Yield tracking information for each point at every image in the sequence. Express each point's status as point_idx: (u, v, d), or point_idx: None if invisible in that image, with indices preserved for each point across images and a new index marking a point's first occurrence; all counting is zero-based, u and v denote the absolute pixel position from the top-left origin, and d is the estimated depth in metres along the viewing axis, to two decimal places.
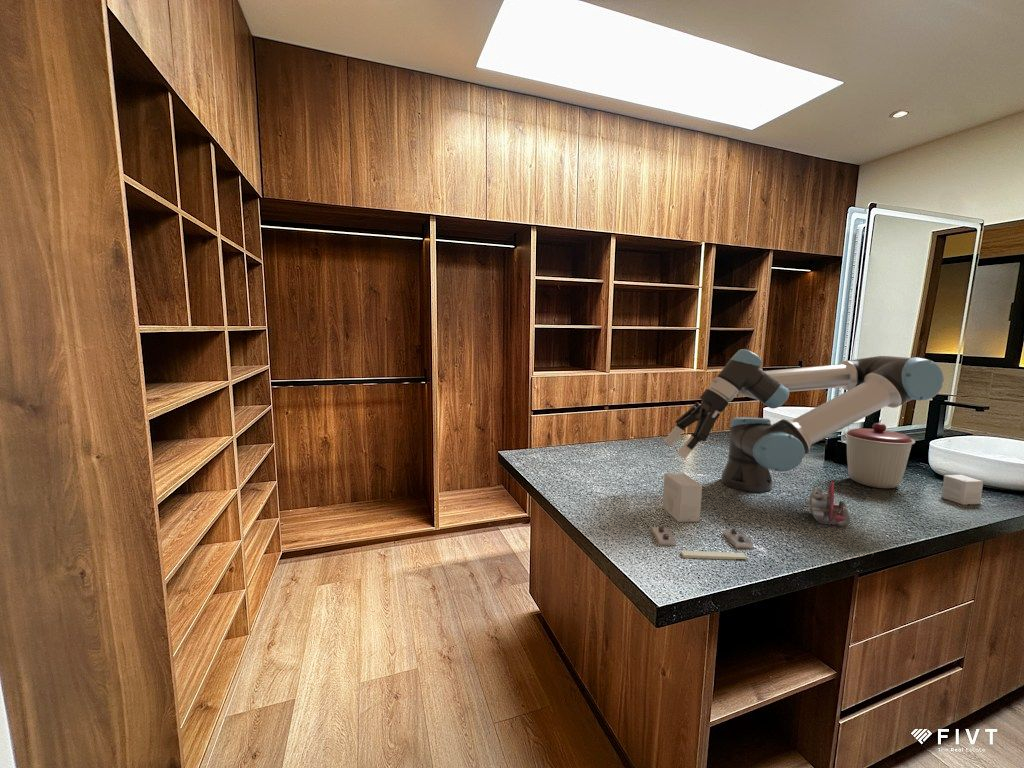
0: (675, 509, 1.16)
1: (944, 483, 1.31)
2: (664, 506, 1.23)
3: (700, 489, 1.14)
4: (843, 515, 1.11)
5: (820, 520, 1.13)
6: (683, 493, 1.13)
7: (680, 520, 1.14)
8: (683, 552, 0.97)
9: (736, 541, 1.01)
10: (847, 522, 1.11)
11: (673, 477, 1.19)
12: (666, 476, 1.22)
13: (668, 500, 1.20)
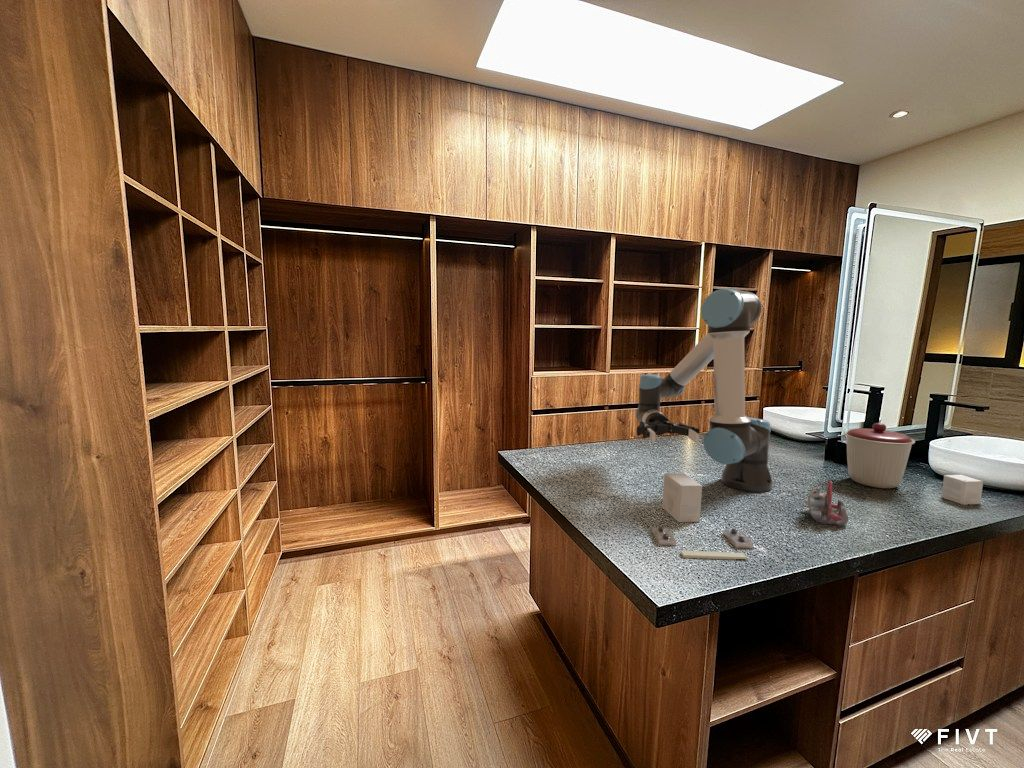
0: (675, 510, 1.16)
1: (944, 483, 1.31)
2: (664, 507, 1.23)
3: (700, 489, 1.13)
4: (841, 514, 1.12)
5: (818, 519, 1.13)
6: (683, 493, 1.13)
7: (680, 520, 1.14)
8: (683, 552, 0.97)
9: (736, 541, 1.01)
10: (844, 521, 1.12)
11: (673, 477, 1.19)
12: (666, 476, 1.22)
13: (668, 501, 1.20)
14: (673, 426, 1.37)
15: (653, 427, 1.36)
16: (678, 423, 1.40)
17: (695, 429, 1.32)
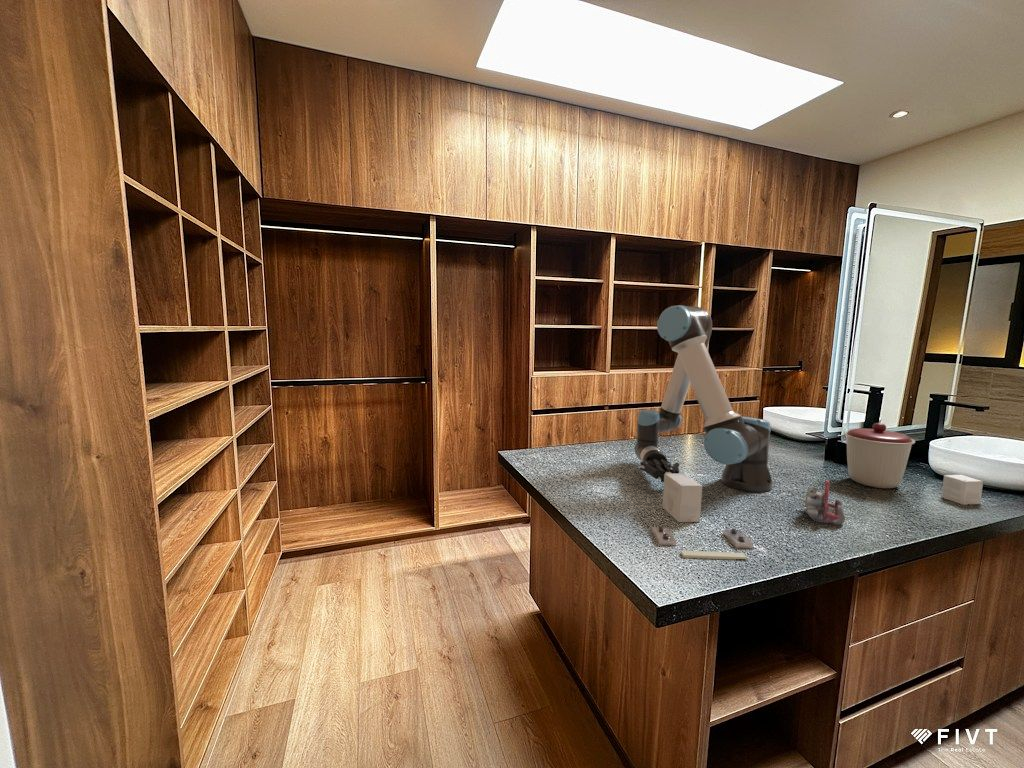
0: (675, 510, 1.16)
1: (944, 483, 1.31)
2: (664, 507, 1.22)
3: (701, 489, 1.13)
4: (838, 514, 1.12)
5: (815, 518, 1.14)
6: (683, 493, 1.13)
7: (680, 520, 1.14)
8: (683, 552, 0.97)
9: (736, 541, 1.01)
10: (841, 520, 1.12)
11: (673, 477, 1.19)
12: (666, 476, 1.21)
13: (668, 501, 1.20)
14: (663, 466, 1.37)
15: None
16: None
17: (674, 471, 1.32)
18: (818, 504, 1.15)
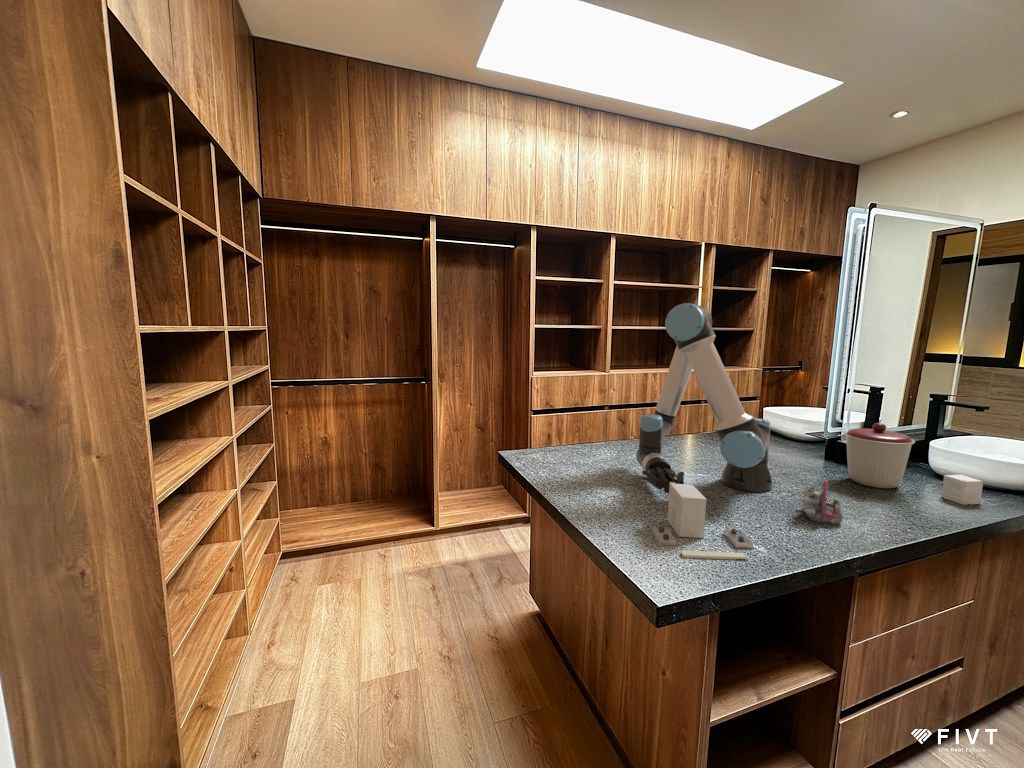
0: (677, 523, 1.07)
1: (944, 483, 1.31)
2: (668, 519, 1.14)
3: (704, 503, 1.04)
4: (835, 513, 1.13)
5: (812, 517, 1.15)
6: (685, 506, 1.05)
7: (681, 535, 1.05)
8: (683, 552, 0.97)
9: (736, 541, 1.01)
10: (839, 520, 1.12)
11: (677, 488, 1.11)
12: (671, 486, 1.13)
13: (671, 513, 1.12)
14: (667, 475, 1.28)
15: None
16: (679, 472, 1.30)
17: (679, 481, 1.23)
18: (816, 503, 1.15)
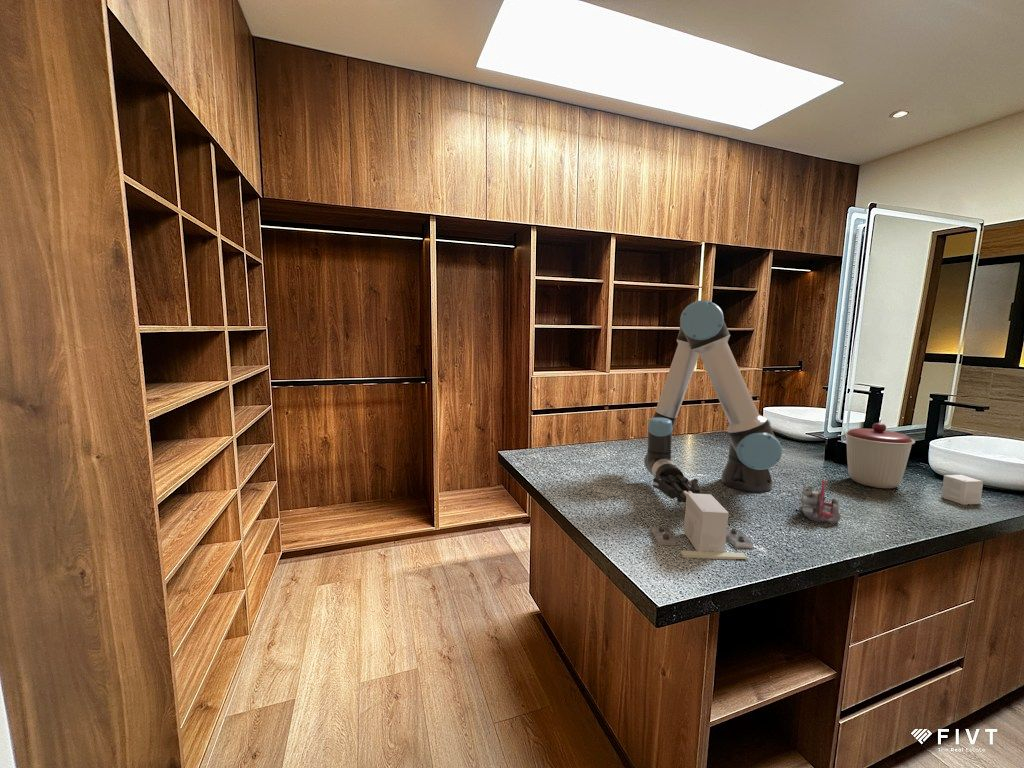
0: (695, 538, 0.99)
1: (944, 483, 1.31)
2: (685, 531, 1.06)
3: (726, 517, 0.96)
4: (833, 512, 1.13)
5: (810, 516, 1.15)
6: (705, 521, 0.97)
7: None
8: (683, 552, 0.97)
9: (736, 541, 1.01)
10: (836, 519, 1.13)
11: (696, 499, 1.02)
12: (688, 497, 1.05)
13: (689, 525, 1.04)
14: (681, 483, 1.20)
15: None
16: None
17: (695, 490, 1.15)
18: (814, 503, 1.16)
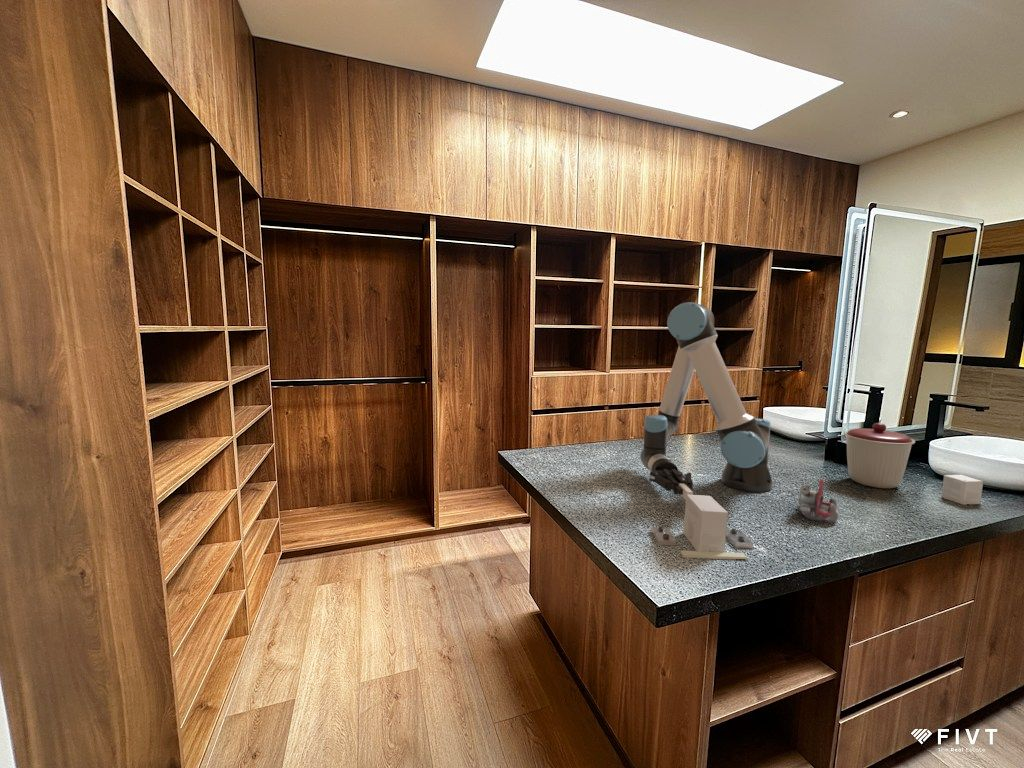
0: (695, 538, 1.00)
1: (944, 483, 1.31)
2: (685, 533, 1.07)
3: (725, 517, 0.97)
4: (830, 512, 1.14)
5: (807, 515, 1.16)
6: (704, 520, 0.97)
7: None
8: (683, 552, 0.97)
9: (736, 541, 1.01)
10: (834, 518, 1.13)
11: (695, 500, 1.03)
12: (687, 498, 1.06)
13: (689, 526, 1.04)
14: (675, 476, 1.27)
15: None
16: None
17: (688, 482, 1.22)
18: (811, 502, 1.16)
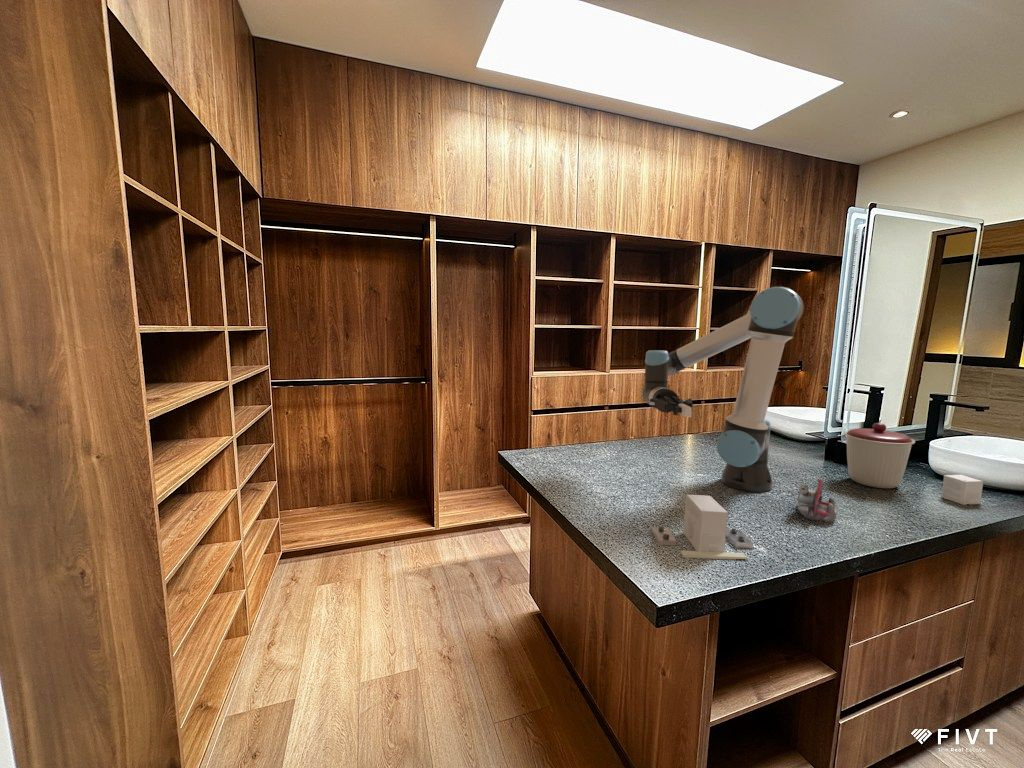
0: (695, 538, 1.00)
1: (944, 483, 1.31)
2: (685, 533, 1.07)
3: (725, 517, 0.97)
4: (829, 511, 1.14)
5: (806, 515, 1.16)
6: (704, 520, 0.97)
7: None
8: (683, 552, 0.97)
9: (736, 541, 1.01)
10: (832, 518, 1.14)
11: (695, 500, 1.03)
12: (687, 498, 1.06)
13: (688, 526, 1.04)
14: (675, 401, 1.27)
15: None
16: (687, 399, 1.29)
17: (688, 404, 1.21)
18: (810, 501, 1.17)
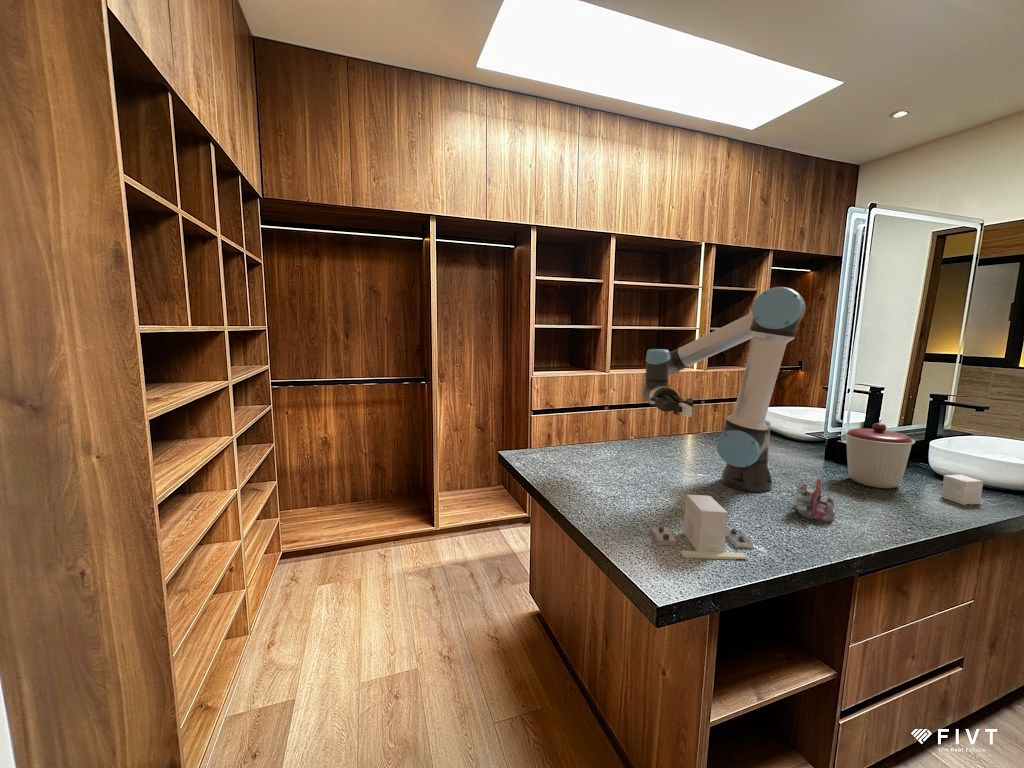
0: (695, 538, 1.00)
1: (944, 483, 1.31)
2: (685, 533, 1.07)
3: (725, 517, 0.97)
4: (827, 511, 1.14)
5: (804, 514, 1.17)
6: (704, 520, 0.97)
7: None
8: (683, 552, 0.97)
9: (736, 541, 1.01)
10: (830, 517, 1.14)
11: (695, 500, 1.03)
12: (687, 498, 1.06)
13: (688, 526, 1.04)
14: (676, 400, 1.27)
15: None
16: None
17: (688, 403, 1.21)
18: (808, 501, 1.17)
